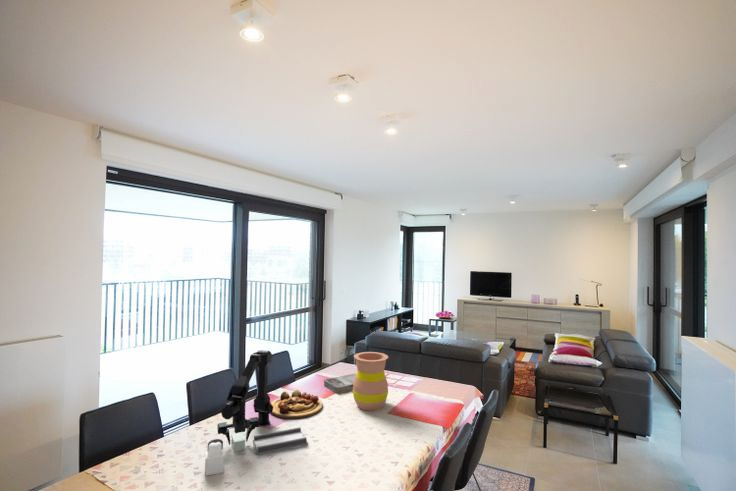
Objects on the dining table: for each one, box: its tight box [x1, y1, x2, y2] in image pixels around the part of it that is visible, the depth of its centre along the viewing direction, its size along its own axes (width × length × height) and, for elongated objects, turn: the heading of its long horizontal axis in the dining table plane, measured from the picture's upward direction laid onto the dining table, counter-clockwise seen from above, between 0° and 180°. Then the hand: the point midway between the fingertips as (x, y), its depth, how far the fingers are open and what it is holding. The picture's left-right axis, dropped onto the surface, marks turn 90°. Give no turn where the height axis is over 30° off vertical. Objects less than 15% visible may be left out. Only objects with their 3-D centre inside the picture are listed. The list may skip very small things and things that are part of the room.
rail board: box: [252, 427, 308, 456], centre depth 179 cm, size 13×24×3 cm, turn 115°
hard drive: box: [323, 373, 357, 395], centre depth 259 cm, size 18×27×4 cm
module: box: [230, 432, 246, 452], centre depth 176 cm, size 8×5×4 cm, turn 28°
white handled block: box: [204, 438, 225, 476], centre depth 156 cm, size 7×7×12 cm
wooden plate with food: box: [270, 389, 324, 420], centre depth 221 cm, size 32×32×8 cm
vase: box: [352, 351, 389, 412], centre depth 226 cm, size 22×22×30 cm
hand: (238, 443), depth 176 cm, fingers open, 7 cm apart
